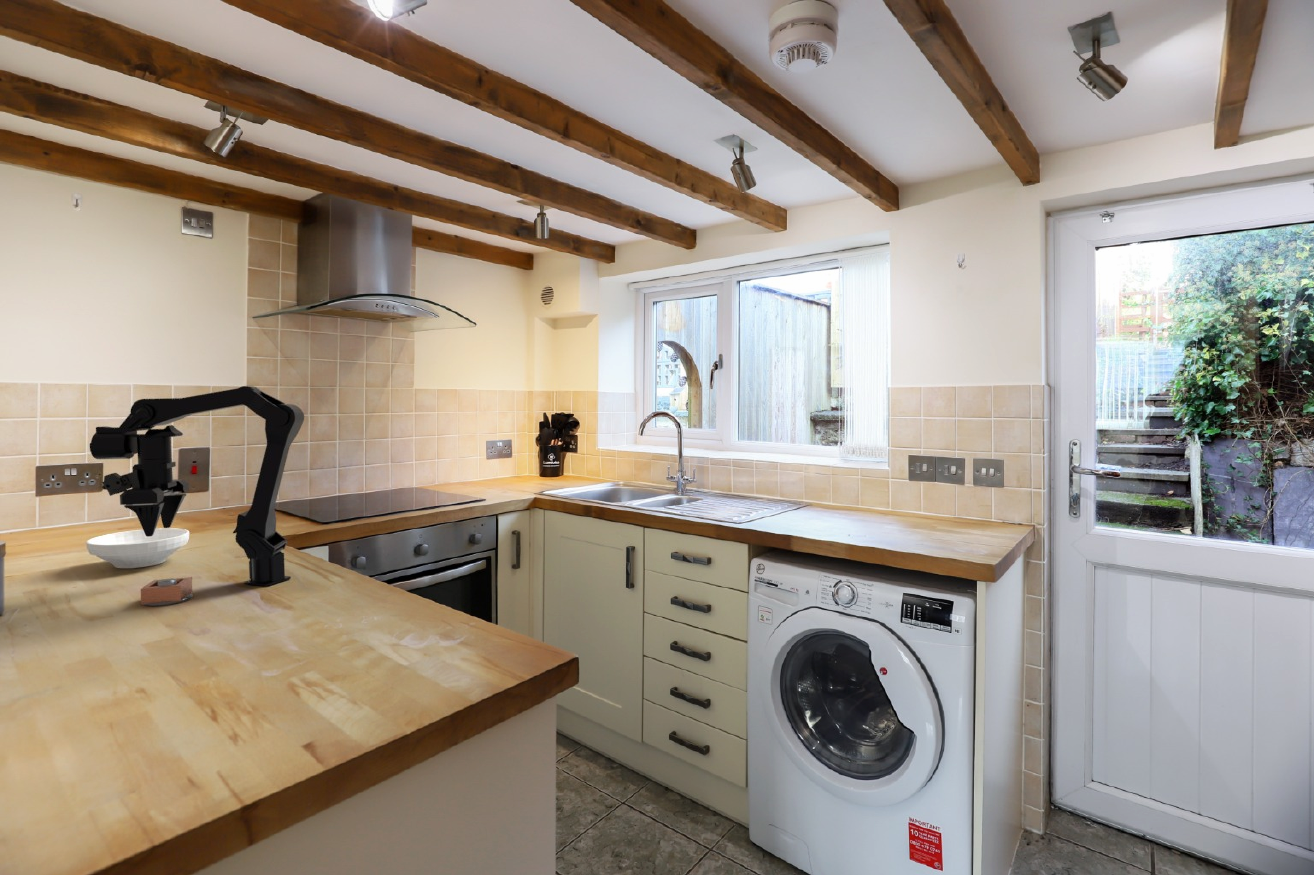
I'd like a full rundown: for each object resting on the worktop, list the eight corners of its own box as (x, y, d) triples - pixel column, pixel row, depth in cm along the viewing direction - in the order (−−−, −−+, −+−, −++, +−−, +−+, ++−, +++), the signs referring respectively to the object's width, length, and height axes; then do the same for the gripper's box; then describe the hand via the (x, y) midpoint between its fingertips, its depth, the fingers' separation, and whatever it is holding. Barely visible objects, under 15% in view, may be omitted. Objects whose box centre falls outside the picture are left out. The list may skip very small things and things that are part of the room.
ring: (192, 591, 135) (191, 577, 135) (181, 600, 129) (180, 585, 129) (154, 594, 133) (154, 580, 133) (141, 604, 127) (140, 588, 127)
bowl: (64, 574, 151) (62, 543, 150) (144, 554, 170) (142, 526, 170) (137, 577, 148) (135, 546, 147) (210, 557, 167) (208, 529, 166)
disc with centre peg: (202, 596, 134) (201, 576, 133) (162, 608, 126) (161, 587, 126) (172, 592, 136) (171, 573, 136) (132, 604, 128) (131, 584, 128)
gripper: (128, 455, 144) (132, 526, 145) (85, 463, 127) (89, 543, 127) (188, 454, 148) (191, 523, 149) (154, 462, 130) (158, 540, 131)
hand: (158, 531), depth 139 cm, fingers open, 9 cm apart
